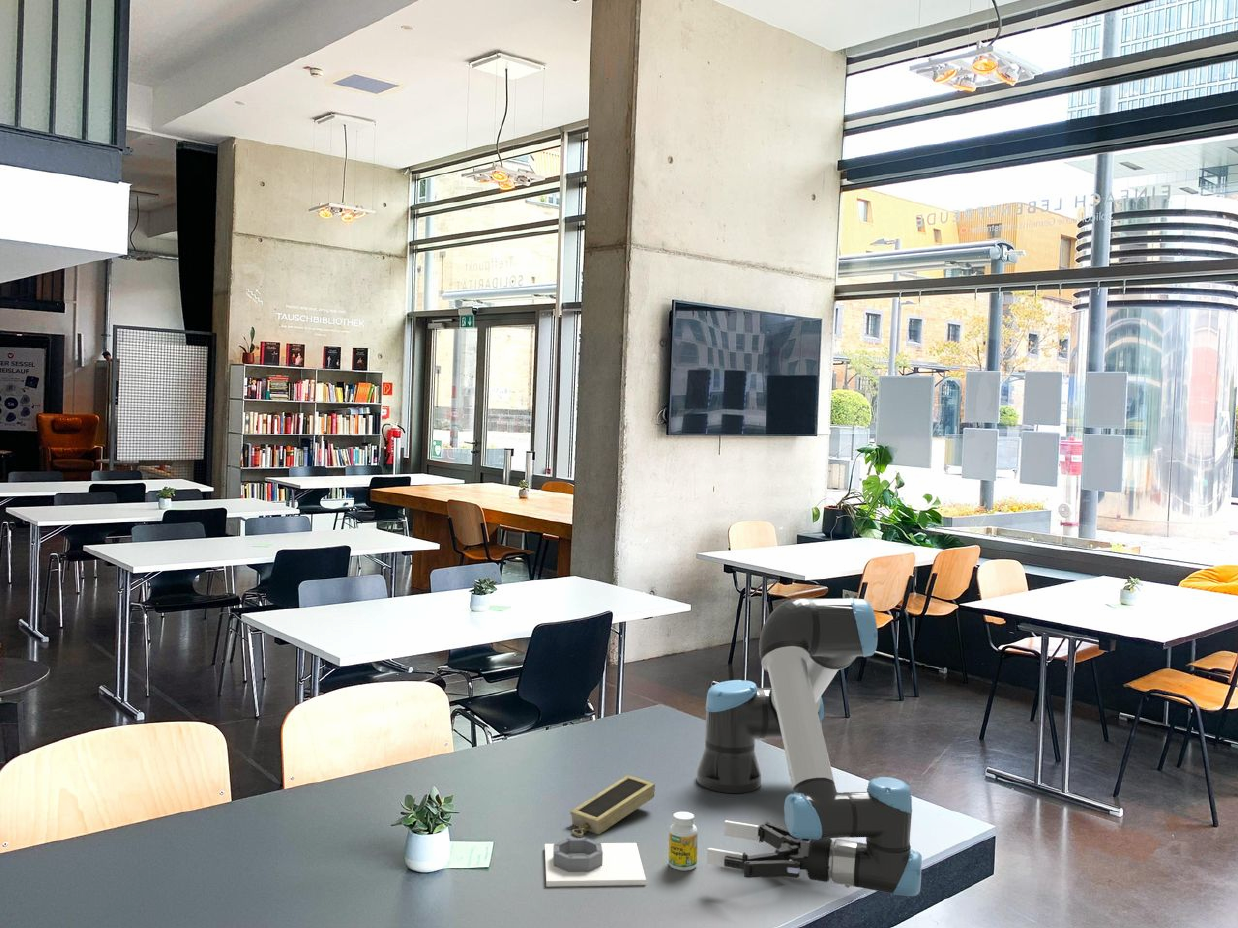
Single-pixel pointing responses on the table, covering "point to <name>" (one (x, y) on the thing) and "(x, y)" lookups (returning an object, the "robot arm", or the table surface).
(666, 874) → the table surface
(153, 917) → the table surface
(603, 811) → the box
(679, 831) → the supplement bottle
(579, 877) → the plate
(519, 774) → the table surface
